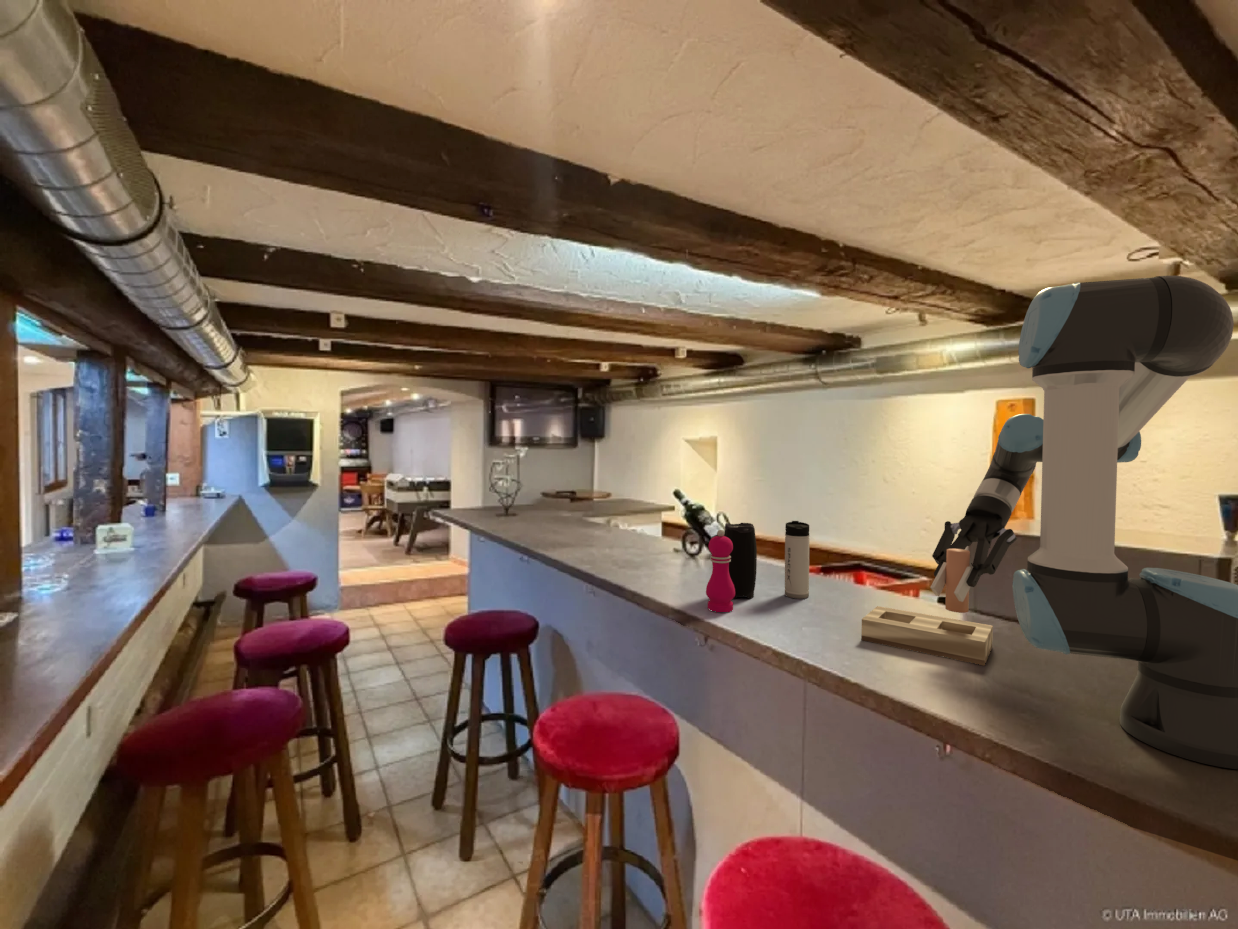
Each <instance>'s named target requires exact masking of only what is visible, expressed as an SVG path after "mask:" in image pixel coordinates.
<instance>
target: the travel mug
mask: <svg viewBox="0 0 1238 929" xmlns="http://www.w3.org/2000/svg"><path fill="white" fill-rule="evenodd" d="M784 528H785V532H784V536H785V538H784V596H785V597H787V598H790V599H796V600H797V599H798V600H799V599H802V600H804V599H808V598H809V596H810V591H809V590H810V524H808V522H807V523H806V522H802V521H799V520H791V521H789V522H786V523H785V527H784Z"/></svg>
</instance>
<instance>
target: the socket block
mask: <svg viewBox="0 0 1238 929" xmlns="http://www.w3.org/2000/svg"><path fill="white" fill-rule="evenodd" d="M993 627H994V626H993V625H991V624H985V623H978V622H973V621H969V620H968V621H966V620H963V619H962V620H961V619H955V618H950V617H943V616H938V615H933V614H926V613H920V612H916V611H915V612H914V611H908V610H903V609H898V608H897V609H896V608H891V607H887V606H878V605H877V606H876V607H875V608H873V609H872V610H871V611H869V613H866V614H865V616H863V617H862V618H861V635H860V636H861V641H863V642H864V641H865V642H869V643H874V644H877V645H882V644H883V646H887V645H888V646H889V647H893V648H897V649H903V650H907V651H911V650H913V652H916V651H918V652H917V653H921V652H923V653H922V654H925V653H927V654H926V655H930V654H931V655H932V656H936V657H940V656H944V657H943V658H945V657H948V658H947V659H949V658H952V659H951V660H954V659H956V661H959V660H960V661H961V662H964V663H969V662H971V663H970V664H973V663H975V665H978V664H979V666H985V665H986V664H985V663H987V661H988V659H989V657H988V656H990V654H991V652H992V649H993V636H994V635H993V634H994V633H993V631H994V630H993V629H994V628H993ZM888 646H887V647H888ZM990 651H991V652H990ZM960 661H959V662H960Z"/></svg>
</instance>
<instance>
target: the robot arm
mask: <svg viewBox="0 0 1238 929" xmlns="http://www.w3.org/2000/svg"><path fill="white" fill-rule="evenodd" d="M1233 333H1234V317H1233V312H1232V310H1231V307H1230V305H1229V303H1228V302H1227V300H1226V298H1225V297H1224V296H1223V295H1222V294H1220V292H1218V291H1217V290H1216V289H1215V288H1214V287H1212V286H1211V285H1209V284H1207V283H1206V282H1203V281H1201V280H1200V279H1196V278H1192V277H1187V276H1182V275H1155V276H1152V277H1140V278H1139V277H1138V278H1127V279H1126V278H1125V279H1113V280H1112V279H1111V280H1098V281H1097V280H1095V281H1086V282H1077V281H1076V282H1074V283H1069V284H1064V285H1059V286H1058V285H1057V286H1051V287H1046V288H1044V289H1041V291H1039V292H1038V293H1037V294H1036V295H1035V296H1034V297H1033V299H1032V301H1031V302H1030V304H1029V306H1028V309H1027V311H1026V313H1025V317H1024V320H1023V323H1022V327H1021V332H1020V338H1019V341H1018V362H1019V365H1020V366H1021V367H1022V368H1026V369H1032V371H1031V372H1032V374H1031V375H1032V377H1031V379H1032V381H1033V383H1035V384H1037V385H1038V386H1039V387H1040V388H1042V389H1043V418H1042V417H1040V416H1038V415H1037V416H1035V415H1032V414H1031V413H1021V414H1020V413H1019V414H1016V415H1014V416H1011V417H1009V418H1008V419H1007V420H1006V421H1005V423H1004V424H1003V426H1002V427H1001V431H1000V432H999V435H998V437H997V438H998V439H997V443H996V447H995V450H994V453H993V455H992V458H991V462H990V465H989V467H988V469H987V471H986V473H985V475H984V477H983V479H982V481H981V482H980V484H979V486H978V488H977V490H976V491H975V493H974V494H973V498H972V499H971V501H970V502H969V504H968V506H967V508H966V511H965V514H964V516H963V517H962V518H961V519H960V520H959V522H953V523H952V522H951V521H948V520H947V521H945V522H944V530H943V532H942V534H941V537H939V538H940V539H939V541H938V542H937V544H936V547H935V548H934V550H933V553H932V555H931V556H932V558H933V560H934V561H935V563H936V565H937V567H936V568H935V570H934V571H933V576H934V577H935V578H934V580H933V582H932V584H931V585H930V590H931V591H932V592H933V594H934V595H935V596H937V597H940V596H941V594H942V592H943V590H944V588H945V587H946V559H947V549H964V550H966V549H967V547H970V546H971V545H972V543H975V542H977V544H976V549H975V552H974V555H973V556H974V558H973V561H972V562H970V564H971V565H970V567H968V566H967V568H966V570H965V572H964V574H963V576H962V578H961V580H960V582H959V584H958V586H957V587H956V589H955V591H954V594H955V595H956V597H957V599H958V600H959V601H961V602H963V601H964V599H965V597H966V595H967V593H968V591H969V592H970V589H971V588H975V587H976V586H977V584H978V582H979V580H980V578H981V577H982V575H985V574H988V575H995V573H996V571H997V570H998V567H999V565H1000V564H1001V562H1002V560H1003V558H1004V556H1005V555H1006V553H1007V551H1008V549H1009V547H1010V546H1012V544H1013V543H1014V542H1016V540H1017V539H1018V538H1017V536H1016V534H1015V532H1014V530H1013V529H1012V528H1007V529H1006V526H1007V524H1008V522H1009V521H1010V518H1011V516H1012V513H1013V512H1014V511H1015V510H1014V509H1015V508H1016V506H1017V504H1018V502H1019V500H1020V497H1021V495H1022V492H1023V491H1024V489H1025V487H1026V486H1027V483H1028V482H1029V480H1030V478H1031V475H1032V474H1033V473H1034V472H1035V469H1036V467H1037V463H1042V464H1041V497H1040V500H1041V501H1040V504H1041V505H1040V506H1041V507H1040V530H1039V531H1040V532H1039V533H1040V535H1039V537H1040V538H1039V539H1040V540H1039V548H1038V549H1037V550H1036V551H1034V552H1033V553H1031V554H1030V555H1028V556H1027V561H1026V562H1027V565H1026V567H1027V568H1021V569H1018V570H1015V571H1014V573H1013V575H1012V577H1013V578H1012V596H1013V603H1014V607H1015V608H1014V609H1015V612H1016V616H1017V620H1018V623H1019V626H1020V629H1021V631H1022V633H1023V635H1024V637H1025V639H1026V640H1027V642H1028V643H1029V644H1030V645H1032V646H1033V647H1034V648H1036V649H1039V650H1043V651H1044V650H1045V651H1050V652H1057V653H1062V654H1063V655H1068V656H1069V655H1070V654H1073V655H1080V656H1089V657H1097V658H1107V659H1115V660H1125V661H1134V662H1137V674H1136V676H1135V678H1134V680H1133V682H1132V684H1131V686H1130V688H1129V690H1128V692H1127V693H1126V696H1125V697H1124V699H1123V701H1122V703H1121V705H1120V710H1119V711H1120V712H1119V724H1120V726H1121V727H1122V729H1123V730H1124V731H1125V732H1126V733H1128V734H1129V735H1131V736H1132V737H1134V738H1135V739H1137V740H1139V741H1141V742H1142V743H1145V744H1147V745H1149V746H1151V747H1152V748H1155V749H1157V750H1160V751H1163V752H1165V753H1167V754H1170V755H1174V756H1176V757H1178V758H1181V759H1186V760H1189V761H1193V762H1197V763H1200V764H1205V765H1209V766H1212V767H1213V766H1214V767H1219V768H1225V769H1232V770H1238V584H1236V583H1232V582H1229V581H1225V580H1222V579H1218V578H1213V577H1210V576H1205V575H1200V574H1195V573H1192V572H1191V573H1190V572H1186V571H1180V570H1175V569H1169V568H1161V567H1144V568H1142V569H1141V572H1140V573H1139V574H1138V576H1139V578H1135V577H1129V567H1128V566H1127V565H1126V564H1125V563H1124V562H1123V561H1122V560H1121V559H1120V558H1118V557H1117V556H1116V554H1115V544H1116V543H1115V542H1116V541H1115V540H1116V538H1115V537H1116V510H1117V509H1116V507H1117V485H1118V484H1117V481H1118V479H1117V478H1118V477H1117V476H1118V463H1130V462H1133V461H1134V460H1136V459H1137V458H1138V456H1139V452H1140V451H1141V448H1142V436H1141V430H1142V429H1143V428H1144V427H1145V426H1146V425H1147V424H1148V423H1149V422H1150V420H1151V419H1152V418H1153V417H1154V416H1155V415H1156V414H1157V413H1158V412H1159V411H1160V410H1161V409H1162V407H1164V405H1165V404H1166V403H1167V402H1169V400H1170V399H1171V398H1172V397H1173V396H1174V395H1175V394H1176V393H1177V391H1178V390H1180V388H1181V387H1182V386H1183V385H1184V384H1185V383H1186V382H1187V380H1188V379H1190V377H1193V376H1197V375H1199V374H1202V373H1204V372H1206V371H1208V370H1209V368H1212V366H1213V365H1214V363H1215V362H1218V360H1219V359H1220V357H1222V355H1223V354H1224V352H1225V351H1226V349H1227V348H1228V346H1229V344H1230V342H1231V340H1232V337H1233ZM959 530H960V531H959ZM956 535H957V537H956ZM955 537H956V538H955ZM995 539H997V540H996V542H995V543H994V545H993V547H992V548H991V545H992V541H993V540H995ZM990 549H991V550H990ZM989 550H990V552H989ZM988 553H989V554H988ZM971 566H972V567H971Z"/></svg>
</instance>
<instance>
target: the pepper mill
mask: <svg viewBox="0 0 1238 929" xmlns="http://www.w3.org/2000/svg"><path fill="white" fill-rule="evenodd" d="M724 532H725V530H723V529H718V531H717V532H716V534H717V535H715V536H713V537H711V538H710V540H709V542H708V550H709V552H710V553H711V554H710V562H712V564H711V565H712V570H711V575H710V577H709V580H708V582H707V584H706V588H705V595H706V596H707V598H708V599H709V600H708V601H707V609H708V608H709V609H710V610H712V611H716V612H715V613H717V612H728V613H731V612H733V611H734V602H733V600H734V599H733V598H734V596H735V588H734V584H733V582H732V580H731V578H730V575H729V562H731V560H730V558H731V556H730V553H731V552H732V550H733V544H732V541H731V540H730V539H729V538H728V537H725V536H724ZM709 609H708V610H709ZM710 610H709V611H710ZM732 610H733V611H732ZM712 611H711V612H712ZM730 611H731V612H730Z"/></svg>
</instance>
